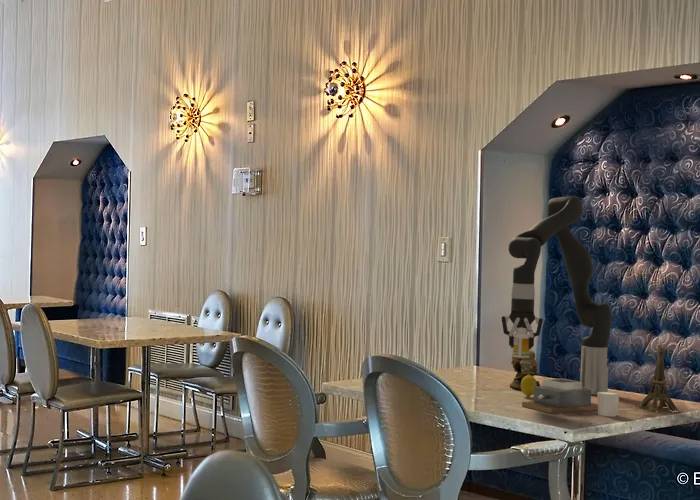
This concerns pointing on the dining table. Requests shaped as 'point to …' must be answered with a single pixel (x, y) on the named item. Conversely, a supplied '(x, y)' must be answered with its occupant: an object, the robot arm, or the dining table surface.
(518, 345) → the supplement bottle
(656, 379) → the eiffel tower
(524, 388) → the lemon
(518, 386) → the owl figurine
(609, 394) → the white cup
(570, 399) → the grey and brown box
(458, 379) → the dining table surface
